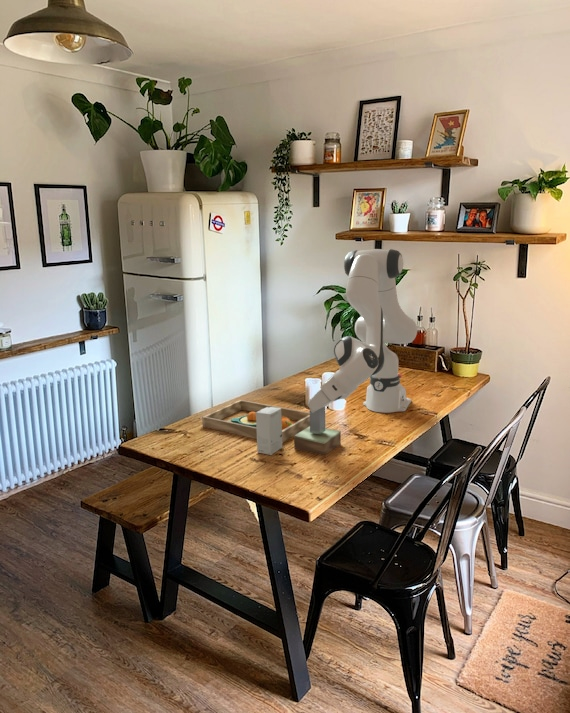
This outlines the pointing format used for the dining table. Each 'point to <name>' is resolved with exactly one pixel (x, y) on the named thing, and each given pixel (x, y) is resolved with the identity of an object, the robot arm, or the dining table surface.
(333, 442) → the block
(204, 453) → the dining table surface
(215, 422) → the shallow serving tray
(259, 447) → the skincare box
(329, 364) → the dining table surface
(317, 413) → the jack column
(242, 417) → the toy juicer set
